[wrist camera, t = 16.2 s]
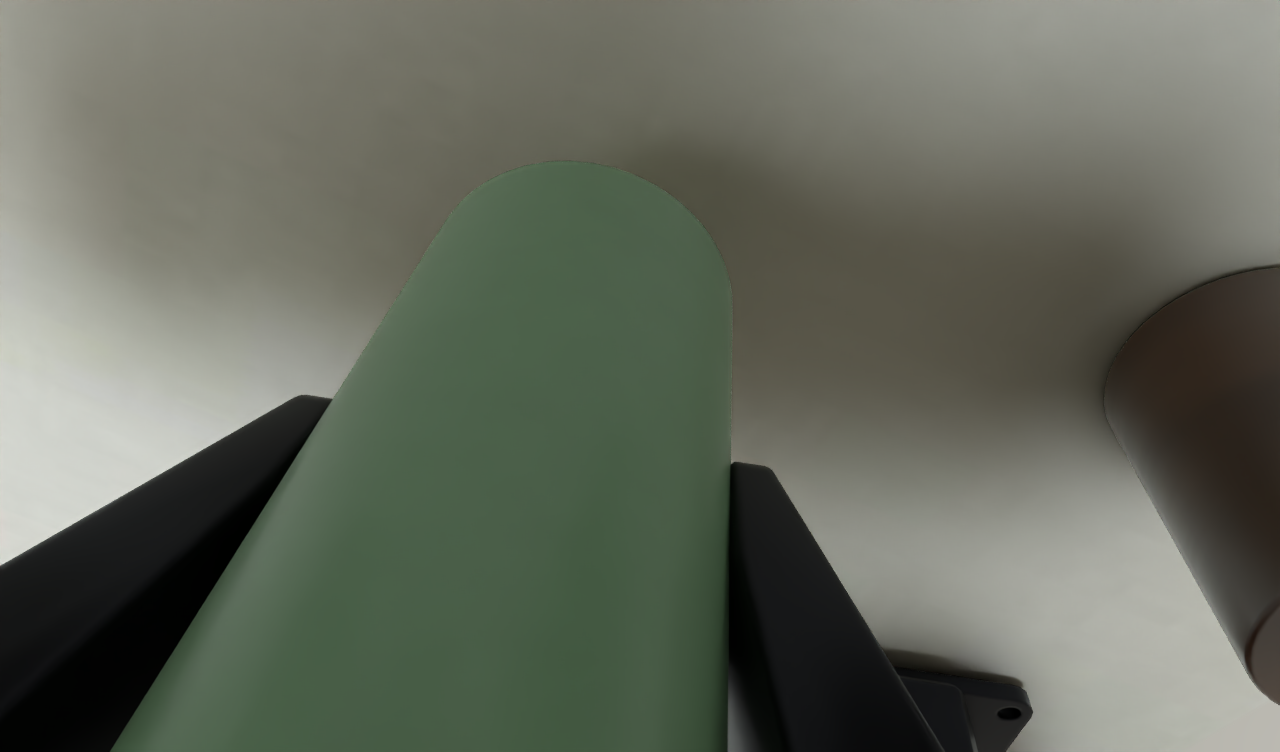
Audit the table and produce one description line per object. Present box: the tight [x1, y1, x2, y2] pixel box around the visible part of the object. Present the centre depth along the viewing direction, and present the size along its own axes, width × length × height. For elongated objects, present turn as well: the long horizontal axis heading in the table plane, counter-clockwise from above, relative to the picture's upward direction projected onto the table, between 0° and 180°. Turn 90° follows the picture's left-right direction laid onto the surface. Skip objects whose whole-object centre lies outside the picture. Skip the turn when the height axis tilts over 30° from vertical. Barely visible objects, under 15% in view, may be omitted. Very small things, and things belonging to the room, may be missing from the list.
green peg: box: [110, 161, 732, 752], centre depth 7 cm, size 4×4×10 cm
